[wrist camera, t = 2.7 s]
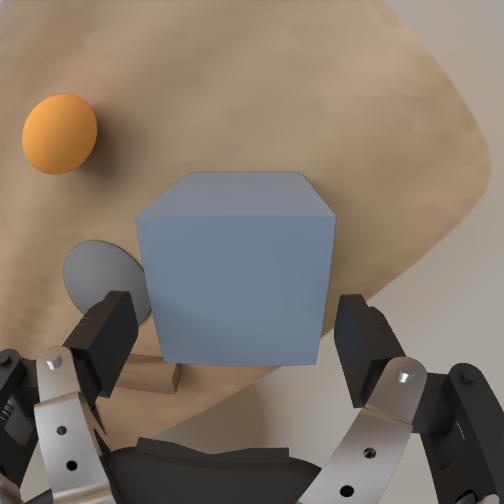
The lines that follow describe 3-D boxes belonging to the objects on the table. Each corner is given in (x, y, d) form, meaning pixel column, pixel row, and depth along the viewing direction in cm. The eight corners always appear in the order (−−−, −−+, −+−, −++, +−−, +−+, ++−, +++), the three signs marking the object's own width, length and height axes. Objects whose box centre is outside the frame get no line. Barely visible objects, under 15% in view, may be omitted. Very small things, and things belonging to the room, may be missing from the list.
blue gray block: (188, 173, 18) (135, 217, 10) (299, 172, 18) (336, 216, 10) (196, 271, 21) (164, 362, 13) (294, 271, 21) (315, 364, 13)
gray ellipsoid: (54, 241, 20) (53, 242, 20) (142, 239, 20) (141, 240, 20) (79, 324, 23) (78, 325, 23) (160, 331, 23) (159, 333, 23)
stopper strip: (81, 347, 24) (70, 364, 22) (177, 358, 24) (171, 379, 22) (87, 362, 25) (78, 379, 23) (181, 373, 25) (175, 394, 23)
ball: (51, 103, 15) (4, 106, 11) (109, 88, 15) (67, 83, 11) (56, 170, 17) (12, 187, 13) (113, 162, 17) (72, 177, 13)
